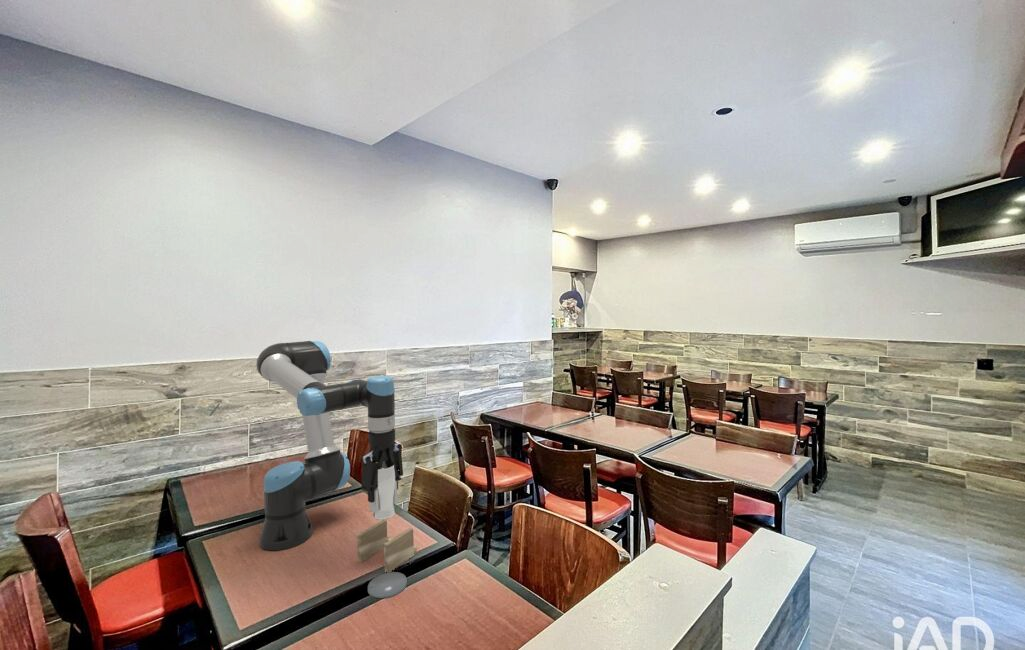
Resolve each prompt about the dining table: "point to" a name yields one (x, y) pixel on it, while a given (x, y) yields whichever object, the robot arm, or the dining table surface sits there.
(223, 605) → the dining table surface
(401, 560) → the rack
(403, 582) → the coaster
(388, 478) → the beer glass
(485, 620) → the dining table surface
